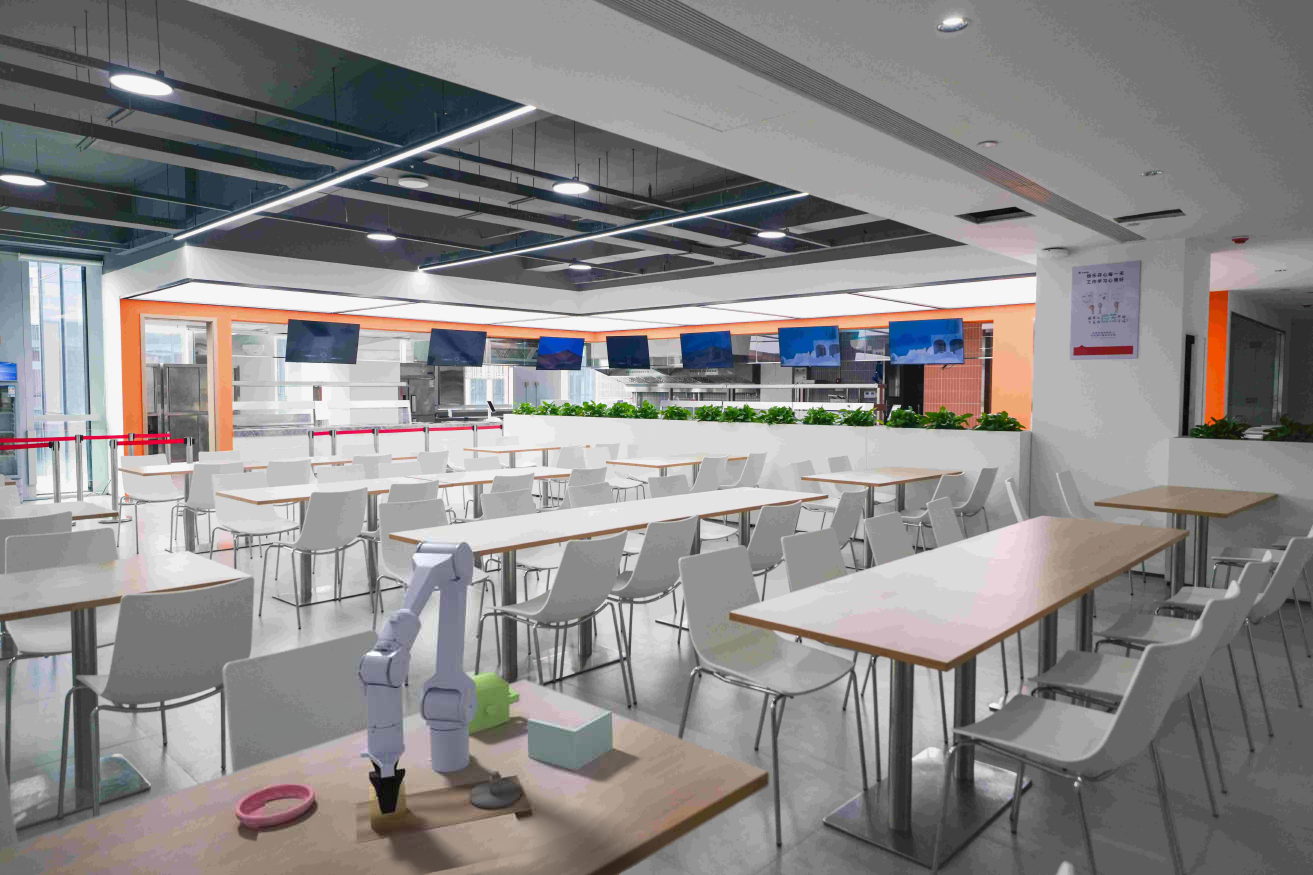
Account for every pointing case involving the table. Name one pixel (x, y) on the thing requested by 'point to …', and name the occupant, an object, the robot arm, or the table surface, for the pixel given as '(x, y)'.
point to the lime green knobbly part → (491, 702)
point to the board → (450, 807)
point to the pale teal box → (570, 741)
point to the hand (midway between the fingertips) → (387, 801)
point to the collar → (388, 818)
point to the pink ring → (254, 803)
